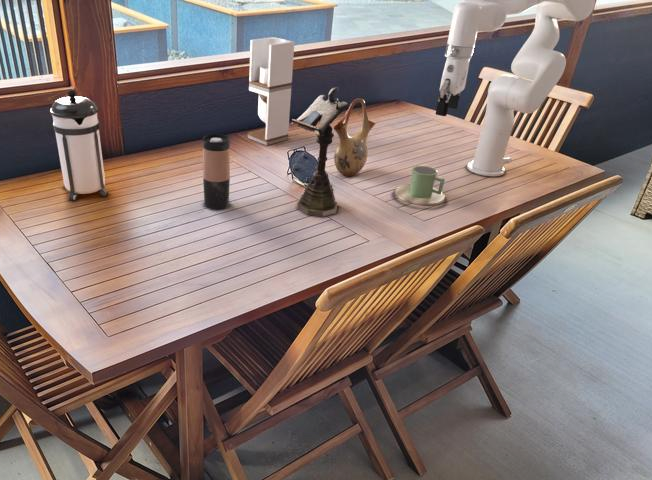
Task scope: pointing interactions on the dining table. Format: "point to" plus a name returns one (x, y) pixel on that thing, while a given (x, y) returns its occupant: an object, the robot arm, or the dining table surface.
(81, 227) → the dining table surface
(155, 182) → the dining table surface
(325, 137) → the ornate book stand
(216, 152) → the travel mug
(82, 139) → the coffee press
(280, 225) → the dining table surface
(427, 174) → the coffee cup on saucer
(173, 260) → the dining table surface
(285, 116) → the white dispenser tower
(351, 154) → the ceramic vessel
